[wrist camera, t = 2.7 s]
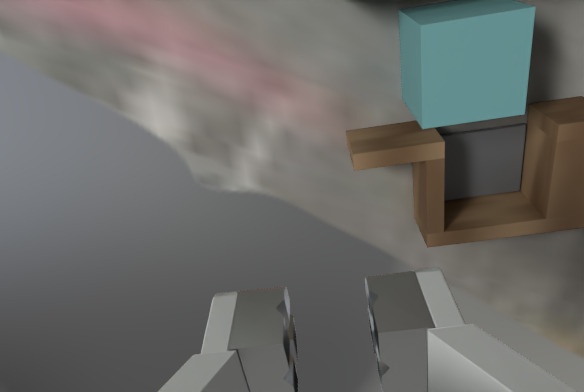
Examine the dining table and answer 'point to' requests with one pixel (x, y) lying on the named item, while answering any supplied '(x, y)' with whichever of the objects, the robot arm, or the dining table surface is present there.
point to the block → (465, 60)
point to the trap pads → (483, 161)
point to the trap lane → (496, 207)
